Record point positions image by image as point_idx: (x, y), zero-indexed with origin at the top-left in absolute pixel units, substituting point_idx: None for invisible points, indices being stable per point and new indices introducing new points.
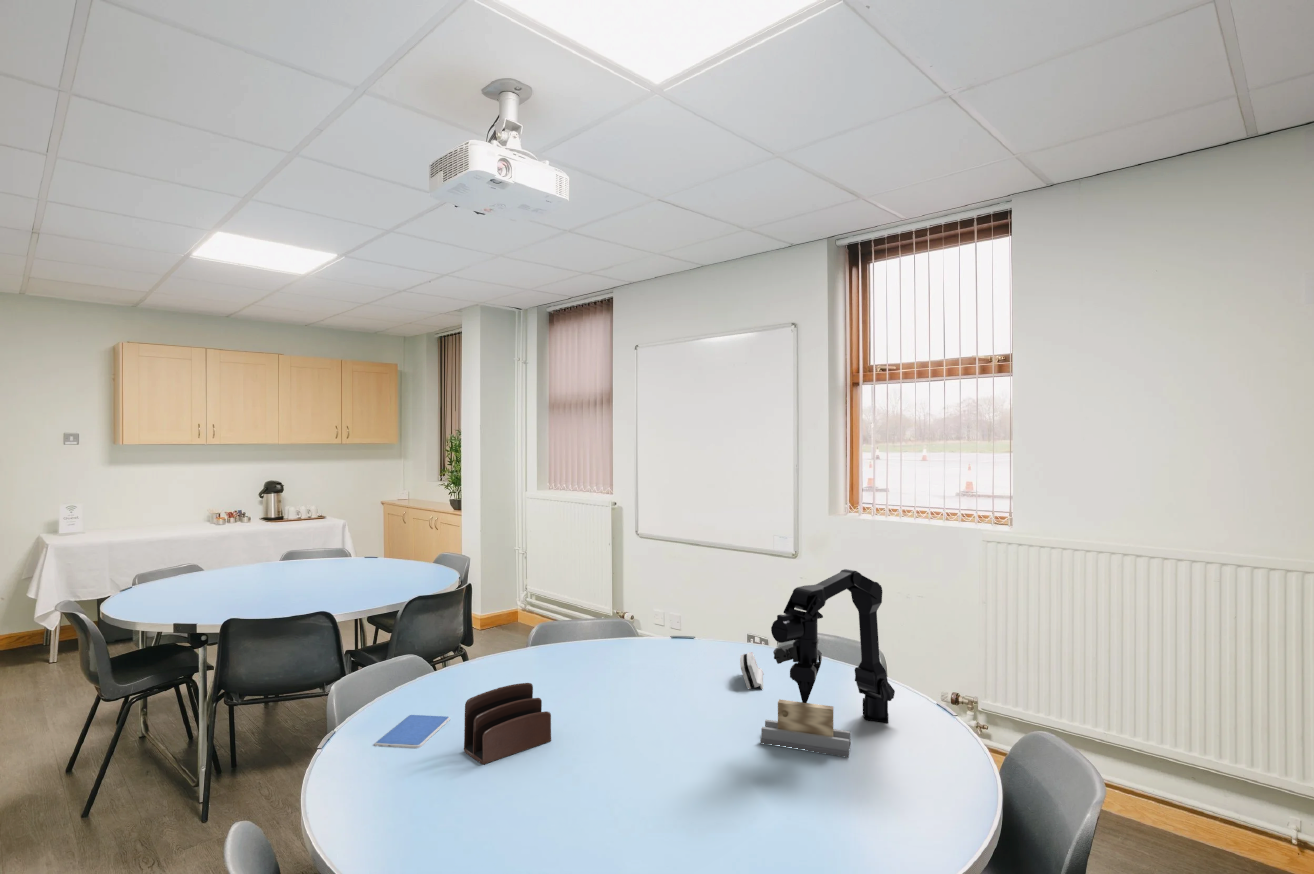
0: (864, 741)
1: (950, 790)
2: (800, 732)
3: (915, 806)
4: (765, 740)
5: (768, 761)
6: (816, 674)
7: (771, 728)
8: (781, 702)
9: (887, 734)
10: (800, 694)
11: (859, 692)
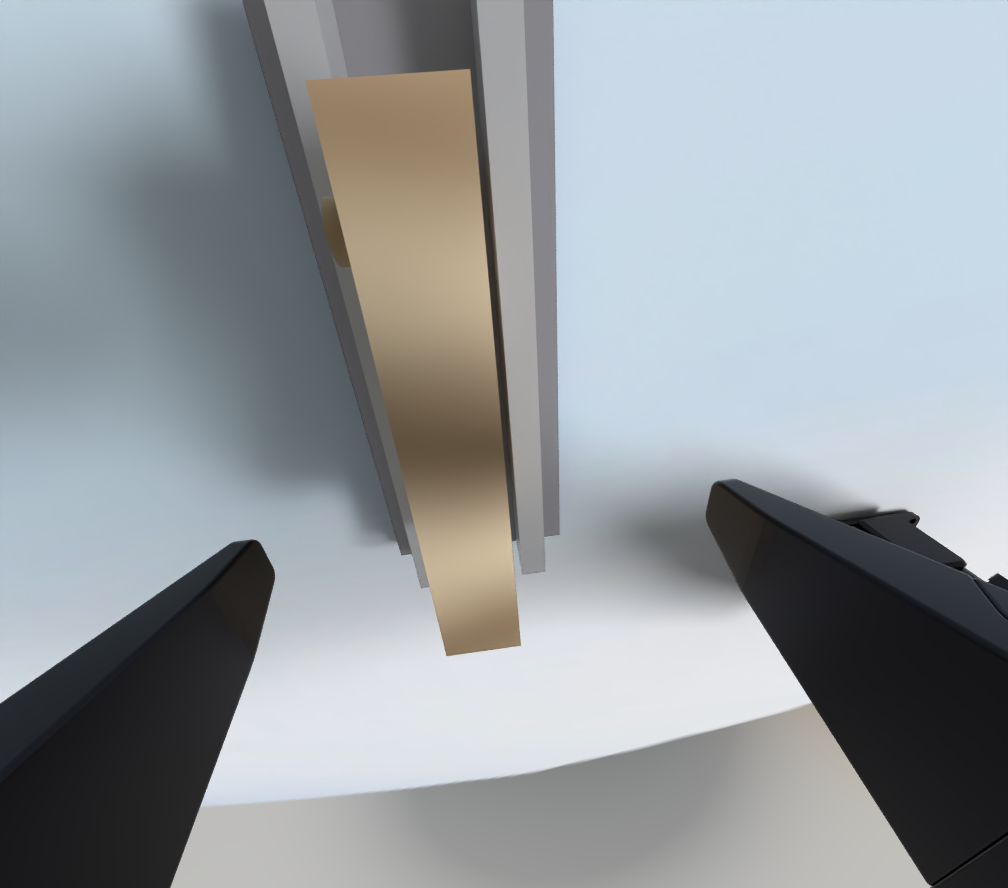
0: (592, 558)
1: (353, 750)
2: None
3: None
4: (266, 58)
5: (26, 183)
6: (891, 823)
7: None
8: (347, 154)
9: (684, 602)
10: (98, 635)
11: (997, 576)
